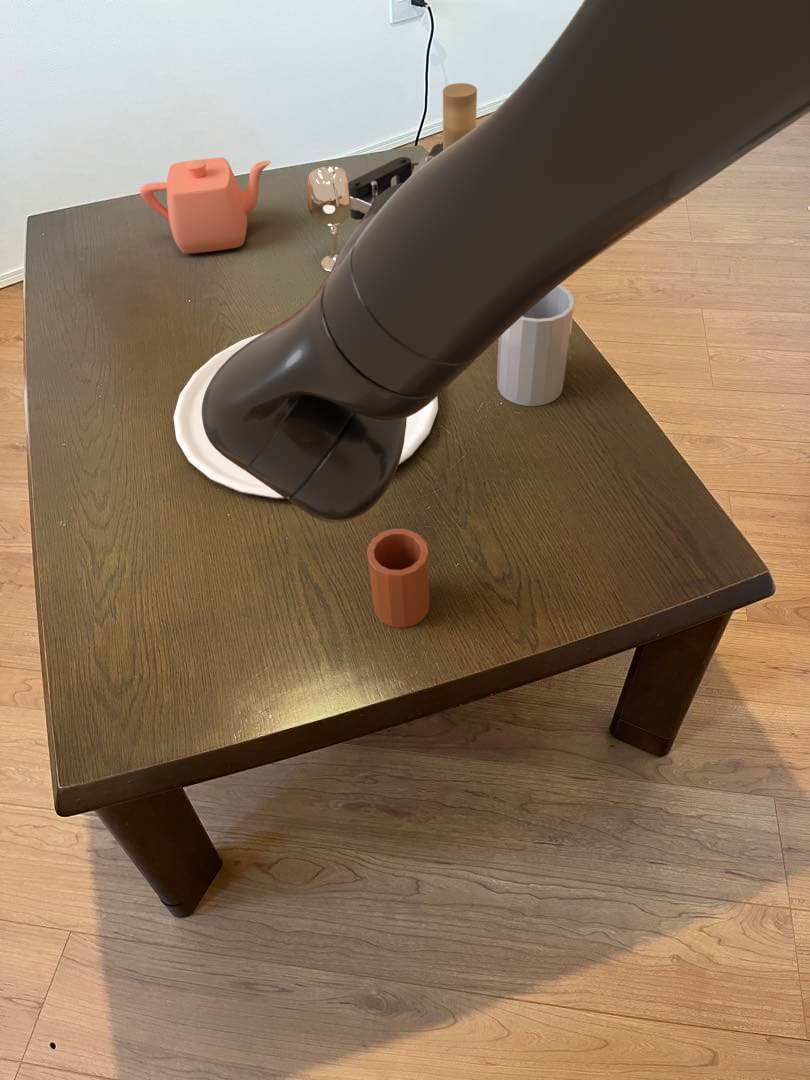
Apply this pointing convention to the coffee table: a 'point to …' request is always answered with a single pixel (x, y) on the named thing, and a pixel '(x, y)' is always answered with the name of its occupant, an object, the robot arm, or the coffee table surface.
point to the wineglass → (329, 203)
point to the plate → (226, 471)
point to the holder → (399, 577)
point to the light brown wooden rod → (458, 112)
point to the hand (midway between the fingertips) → (468, 152)
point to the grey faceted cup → (536, 351)
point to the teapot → (205, 204)
